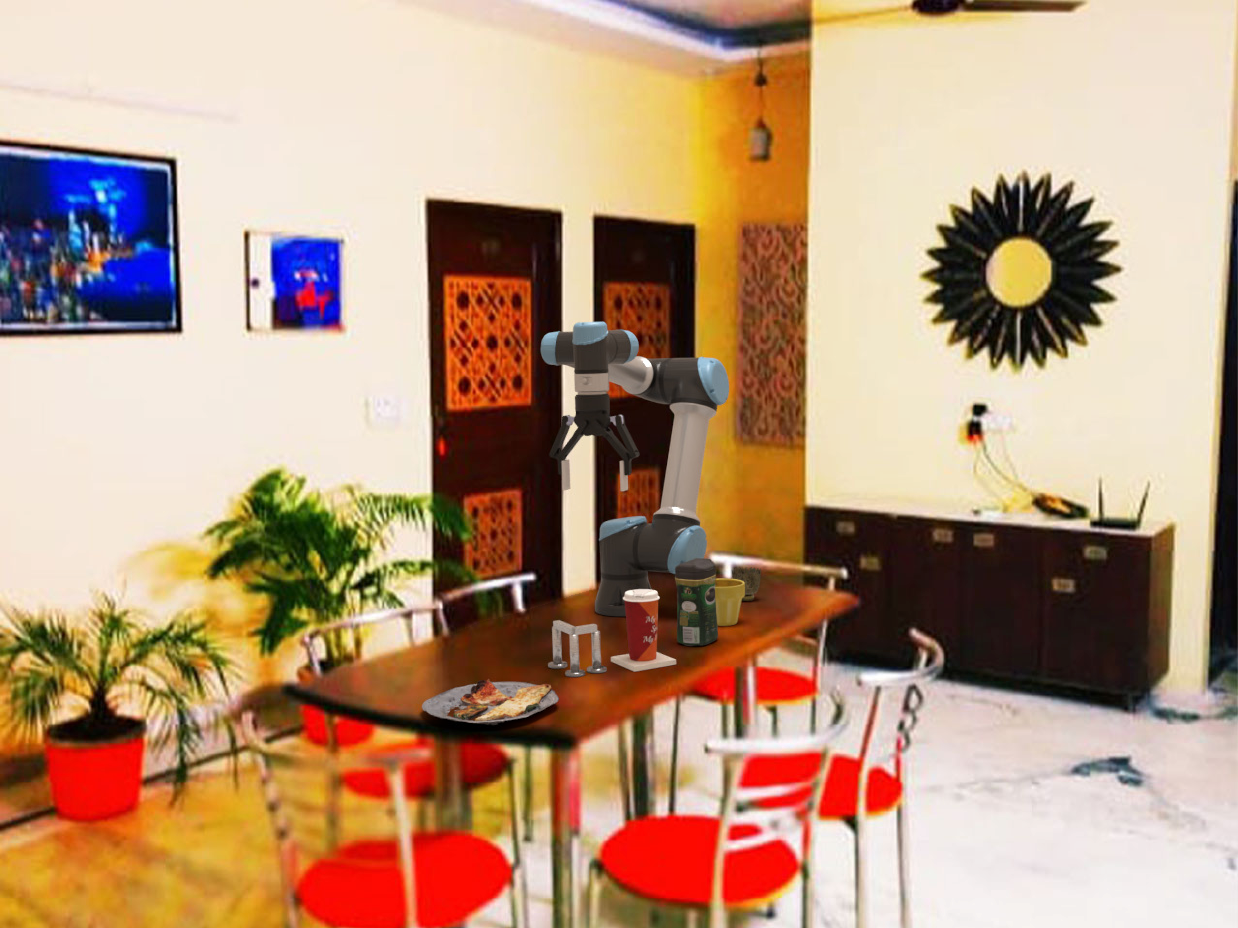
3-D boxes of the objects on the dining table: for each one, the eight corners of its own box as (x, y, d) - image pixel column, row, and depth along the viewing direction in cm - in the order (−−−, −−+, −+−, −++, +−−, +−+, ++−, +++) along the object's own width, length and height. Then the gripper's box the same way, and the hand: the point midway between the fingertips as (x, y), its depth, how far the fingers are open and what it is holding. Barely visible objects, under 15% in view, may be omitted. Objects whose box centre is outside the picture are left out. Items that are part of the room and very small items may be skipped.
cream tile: (610, 661, 274) (610, 656, 274) (651, 654, 278) (651, 649, 278) (634, 671, 265) (634, 666, 265) (676, 664, 270) (676, 659, 270)
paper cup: (657, 662, 267) (656, 595, 266) (621, 662, 269) (619, 595, 267) (664, 653, 275) (662, 588, 273) (628, 652, 276) (626, 588, 275)
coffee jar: (691, 635, 295) (689, 554, 293) (722, 638, 291) (721, 557, 289) (670, 644, 287) (668, 561, 285) (702, 648, 283) (700, 564, 281)
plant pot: (753, 625, 303) (752, 583, 302) (712, 629, 300) (711, 588, 299) (734, 616, 313) (733, 576, 312) (694, 621, 309) (693, 580, 308)
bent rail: (544, 665, 272) (543, 620, 271) (583, 659, 276) (581, 614, 275) (570, 678, 261) (569, 630, 260) (610, 671, 266) (608, 624, 265)
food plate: (481, 685, 258) (480, 667, 257) (581, 700, 246) (580, 682, 246) (400, 723, 236) (399, 704, 236) (505, 741, 225) (504, 721, 224)
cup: (741, 596, 336) (741, 565, 335) (766, 598, 332) (766, 568, 331) (726, 601, 330) (726, 570, 329) (752, 604, 326) (751, 572, 325)
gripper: (532, 394, 283) (536, 491, 286) (640, 393, 275) (643, 493, 277) (546, 392, 290) (549, 487, 293) (651, 391, 282) (654, 488, 284)
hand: (595, 490), depth 285 cm, fingers open, 13 cm apart
